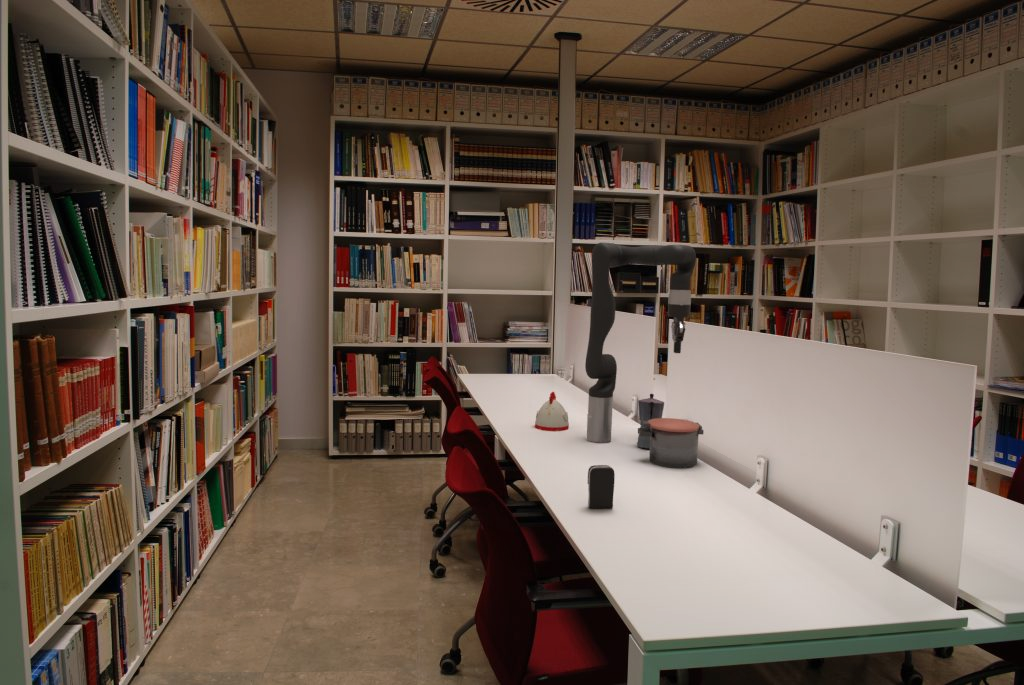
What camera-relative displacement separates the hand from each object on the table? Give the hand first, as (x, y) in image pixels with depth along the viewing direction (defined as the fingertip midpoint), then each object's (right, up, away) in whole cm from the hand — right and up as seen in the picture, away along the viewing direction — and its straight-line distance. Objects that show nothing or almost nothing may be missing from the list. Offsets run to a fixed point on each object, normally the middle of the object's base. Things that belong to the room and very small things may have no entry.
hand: (677, 352), depth 243 cm
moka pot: (-6, -36, +17) cm, 40 cm away
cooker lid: (-3, -25, -4) cm, 26 cm away
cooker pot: (-4, -37, -3) cm, 38 cm away
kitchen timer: (-41, -32, +47) cm, 70 cm away
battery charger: (-34, -41, -53) cm, 75 cm away
